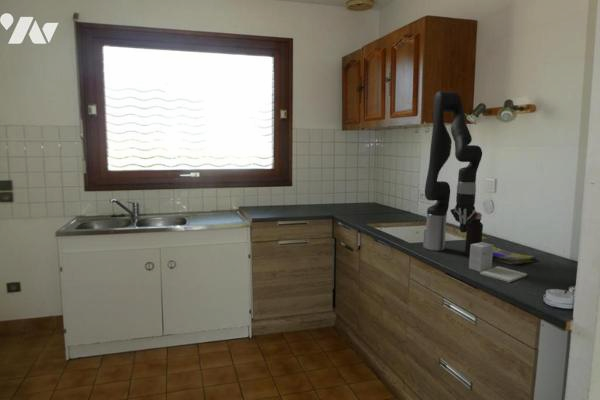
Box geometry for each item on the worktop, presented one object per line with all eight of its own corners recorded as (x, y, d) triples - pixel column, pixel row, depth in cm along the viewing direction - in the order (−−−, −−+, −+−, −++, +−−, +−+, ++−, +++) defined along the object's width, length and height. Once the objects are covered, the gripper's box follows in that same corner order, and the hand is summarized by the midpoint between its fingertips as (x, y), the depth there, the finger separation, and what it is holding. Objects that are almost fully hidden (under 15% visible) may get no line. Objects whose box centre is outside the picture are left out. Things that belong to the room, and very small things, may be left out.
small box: (480, 265, 185) (481, 241, 183) (491, 269, 180) (493, 244, 179) (468, 268, 181) (470, 244, 179) (480, 272, 176) (482, 247, 174)
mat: (479, 274, 173) (480, 272, 173) (497, 268, 181) (498, 266, 181) (509, 282, 164) (509, 280, 164) (526, 275, 172) (527, 273, 172)
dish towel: (491, 249, 215) (492, 244, 214) (539, 262, 194) (540, 256, 194) (468, 253, 206) (469, 248, 205) (516, 267, 185) (517, 261, 185)
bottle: (462, 253, 204) (466, 212, 201) (477, 253, 203) (480, 212, 200) (467, 257, 197) (470, 214, 194) (482, 257, 197) (486, 215, 194)
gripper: (447, 191, 186) (444, 230, 188) (475, 194, 175) (472, 236, 178) (457, 190, 190) (454, 228, 193) (485, 193, 180) (482, 233, 182)
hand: (463, 232), depth 185 cm, fingers closed
